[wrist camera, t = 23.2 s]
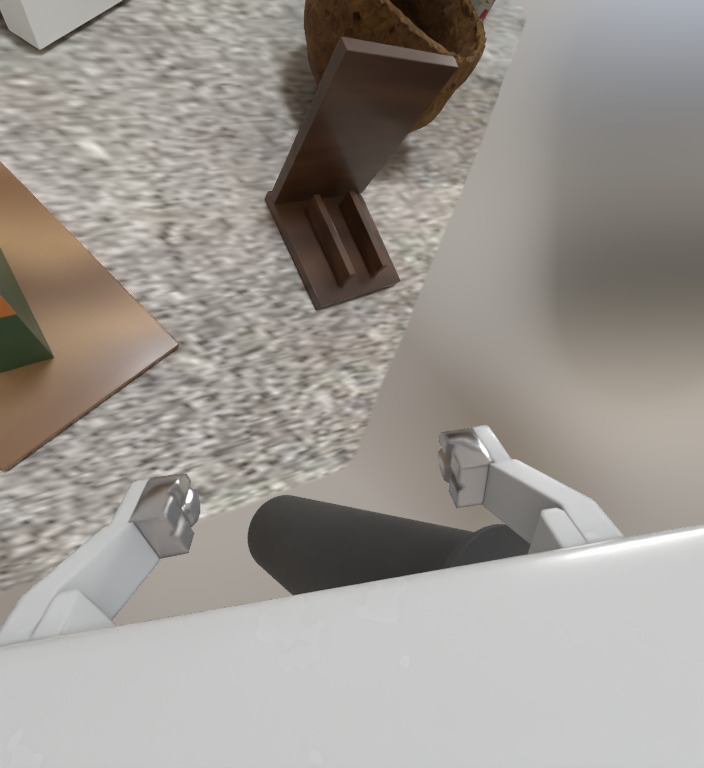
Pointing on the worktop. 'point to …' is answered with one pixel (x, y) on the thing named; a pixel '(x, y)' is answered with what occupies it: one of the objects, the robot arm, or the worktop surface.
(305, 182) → the book rack
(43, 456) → the worktop surface
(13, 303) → the book
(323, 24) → the bowl
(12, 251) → the cork mat
